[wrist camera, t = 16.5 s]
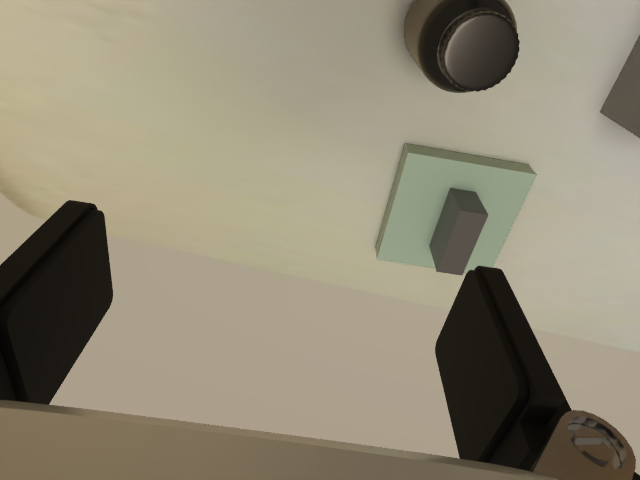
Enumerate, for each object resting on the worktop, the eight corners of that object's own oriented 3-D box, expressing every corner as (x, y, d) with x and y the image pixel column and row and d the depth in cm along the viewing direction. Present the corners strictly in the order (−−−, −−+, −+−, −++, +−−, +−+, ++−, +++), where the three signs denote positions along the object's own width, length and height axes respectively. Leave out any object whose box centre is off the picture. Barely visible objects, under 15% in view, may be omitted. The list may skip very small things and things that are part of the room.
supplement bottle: (487, 56, 40) (537, 95, 30) (409, 76, 41) (432, 120, 31) (482, -32, 36) (537, -21, 26) (396, -7, 37) (418, 12, 27)
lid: (405, 143, 44) (414, 173, 39) (528, 164, 45) (555, 196, 39) (375, 247, 51) (380, 285, 46) (482, 264, 52) (500, 304, 46)
